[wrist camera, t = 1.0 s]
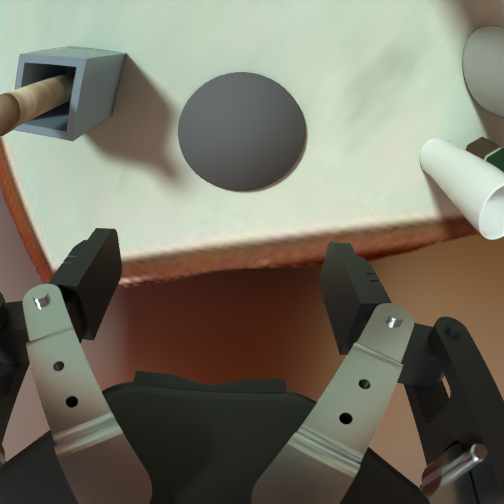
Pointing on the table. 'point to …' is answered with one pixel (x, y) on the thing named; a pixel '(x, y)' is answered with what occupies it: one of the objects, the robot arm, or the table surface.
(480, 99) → the cylinder vase
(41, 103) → the beech dowel
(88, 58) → the deep cup
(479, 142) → the beer bottle
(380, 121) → the table surface
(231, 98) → the gray disc
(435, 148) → the drinking glass
